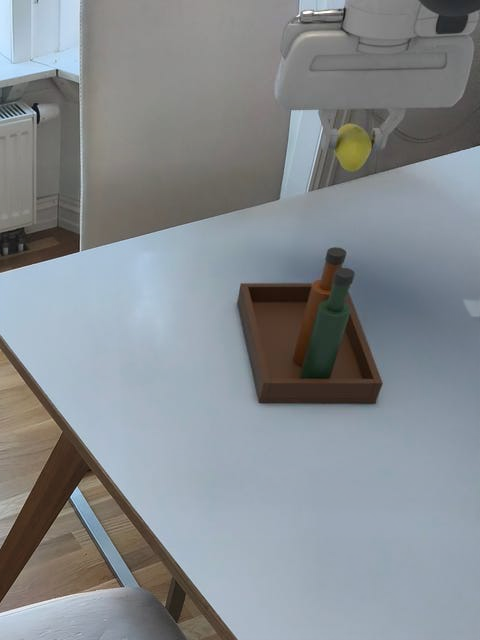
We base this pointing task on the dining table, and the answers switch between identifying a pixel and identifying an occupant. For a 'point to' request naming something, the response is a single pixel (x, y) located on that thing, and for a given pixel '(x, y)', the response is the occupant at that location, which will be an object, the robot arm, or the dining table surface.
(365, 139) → the lemon
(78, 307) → the dining table surface
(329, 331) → the green bottle
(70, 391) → the dining table surface
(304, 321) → the amber bottle
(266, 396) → the tray
